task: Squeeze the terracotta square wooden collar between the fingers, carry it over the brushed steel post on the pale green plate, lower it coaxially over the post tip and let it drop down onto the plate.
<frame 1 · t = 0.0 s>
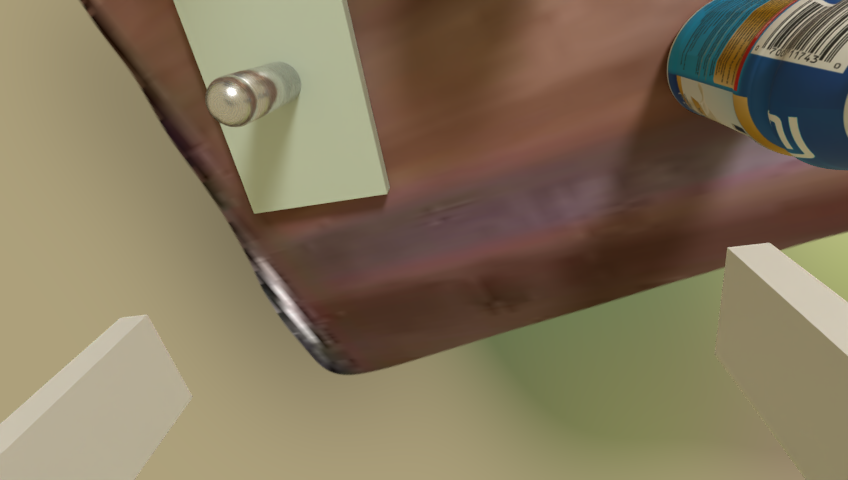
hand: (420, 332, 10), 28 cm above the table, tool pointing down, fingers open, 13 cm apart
beverage bottle: (722, 56, 32), on the table
post: (281, 82, 34), resting on post plate
post plate: (288, 80, 35), on the table
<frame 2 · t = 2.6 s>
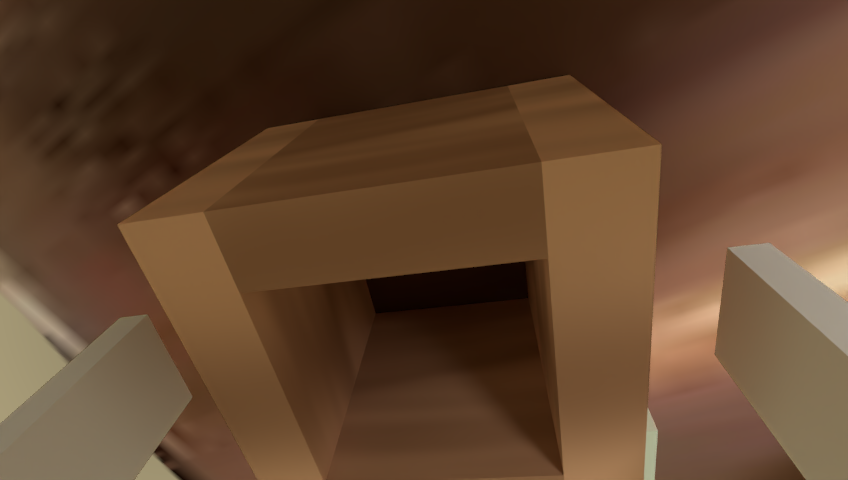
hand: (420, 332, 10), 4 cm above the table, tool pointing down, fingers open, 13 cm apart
collar: (436, 238, 13), on the table
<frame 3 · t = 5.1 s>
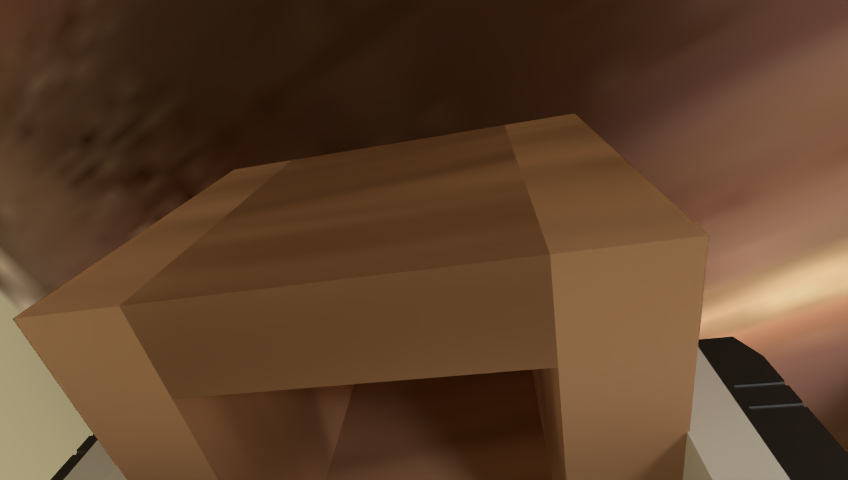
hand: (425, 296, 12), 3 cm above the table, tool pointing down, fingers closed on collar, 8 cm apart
collar: (425, 289, 12), point 3 cm above the table, touching gripper
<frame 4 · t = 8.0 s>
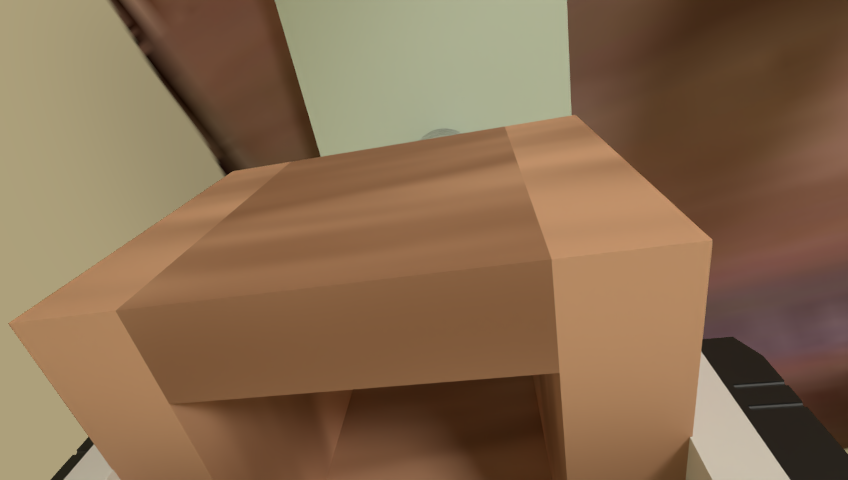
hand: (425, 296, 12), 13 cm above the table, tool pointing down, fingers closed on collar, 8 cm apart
collar: (425, 291, 12), point 13 cm above the table, touching gripper
post plate: (445, 150, 23), on the table
when the fingers open (3 cm above the table, at t = 10.8 s): collar drops 1 cm, resting on post plate.
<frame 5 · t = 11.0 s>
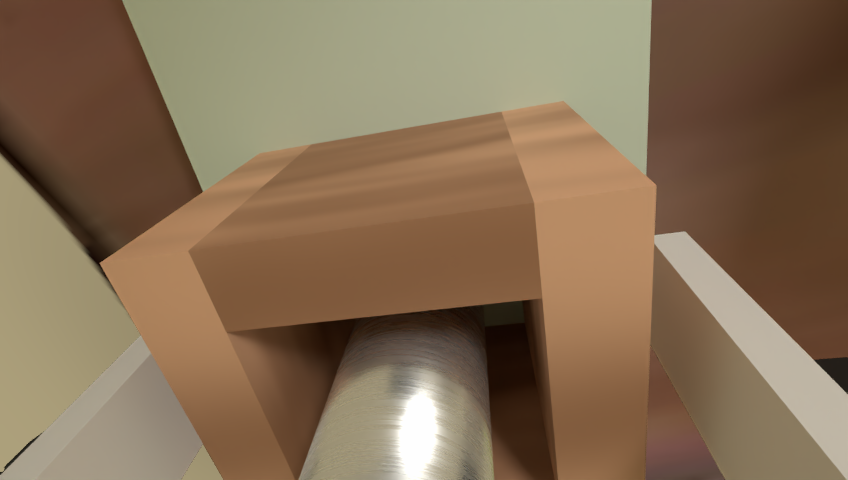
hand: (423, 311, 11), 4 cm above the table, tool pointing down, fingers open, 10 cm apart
collar: (431, 262, 13), point 1 cm above the table, touching post plate
post: (429, 263, 13), resting on post plate
post plate: (432, 240, 15), on the table
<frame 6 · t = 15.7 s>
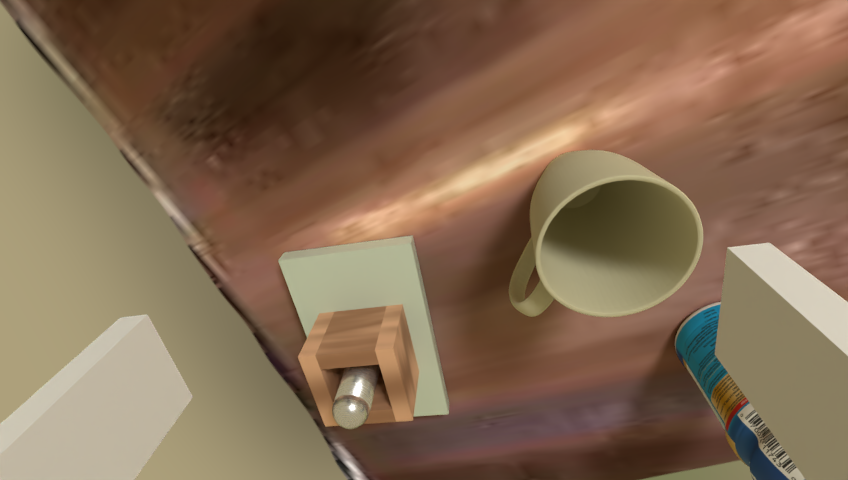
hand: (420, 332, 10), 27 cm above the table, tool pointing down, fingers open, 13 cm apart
beverage bottle: (718, 333, 41), on the table
collar: (370, 343, 43), point 1 cm above the table, touching post plate
mug: (564, 191, 37), on the table
post: (370, 343, 43), resting on post plate
post plate: (372, 333, 45), on the table
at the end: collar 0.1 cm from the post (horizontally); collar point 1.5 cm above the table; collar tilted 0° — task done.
